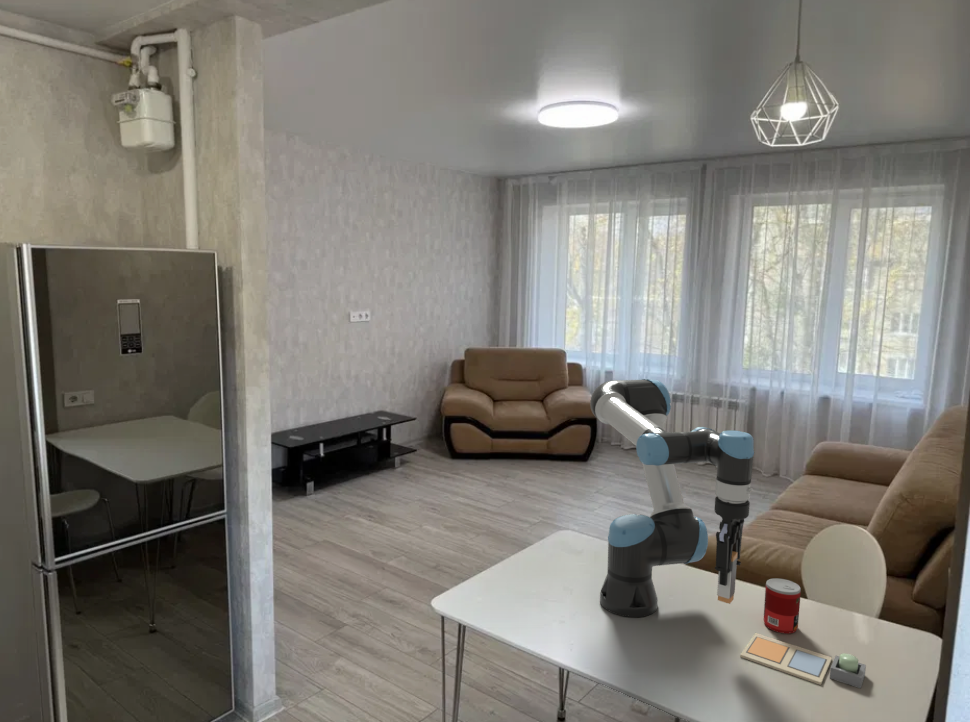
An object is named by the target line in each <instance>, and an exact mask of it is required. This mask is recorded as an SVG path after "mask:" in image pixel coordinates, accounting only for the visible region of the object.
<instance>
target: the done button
mask: <svg viewBox="0 0 970 722" xmlns="http://www.w3.org/2000/svg"><path fill="white" fill-rule="evenodd" d="M839 656H840V659H839V669H842V670H846V671H849V672H852V673H855V674H857V670H858V663H859V659H858V658H857V656H854V655H853V654H850V653H841V654H839Z"/></svg>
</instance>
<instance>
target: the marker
mask: <svg viewBox="0 0 970 722" xmlns="http://www.w3.org/2000/svg"><path fill="white" fill-rule="evenodd" d="M737 554H738V552H734V551H732V558H731V567H730V571H732V572H731V587H730V598H729V599H727V598H724V597H721V596H718V595H717V601H719V602H722V603H726V604H729V605H731V603H732V602H733V601H734V597H735V590H736V580H737V579H736V578H737V565H736V564H737ZM735 579H736V580H735Z"/></svg>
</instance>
